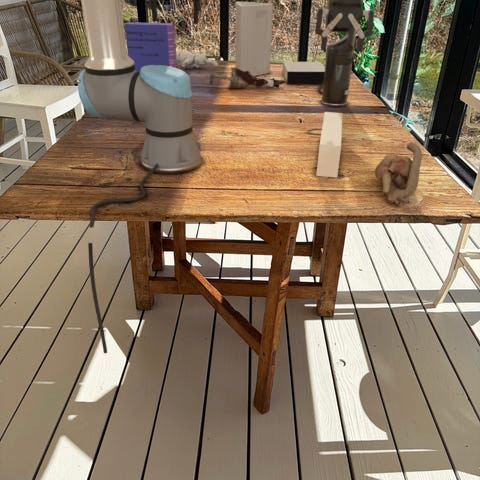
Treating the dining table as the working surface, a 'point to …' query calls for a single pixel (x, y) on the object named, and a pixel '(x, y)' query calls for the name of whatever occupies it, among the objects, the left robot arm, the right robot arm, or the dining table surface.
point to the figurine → (246, 79)
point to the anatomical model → (399, 174)
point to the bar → (330, 145)
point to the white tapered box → (253, 37)
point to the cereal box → (151, 44)
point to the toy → (193, 59)
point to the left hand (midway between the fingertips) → (175, 22)
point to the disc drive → (303, 72)
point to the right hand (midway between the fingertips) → (340, 53)
